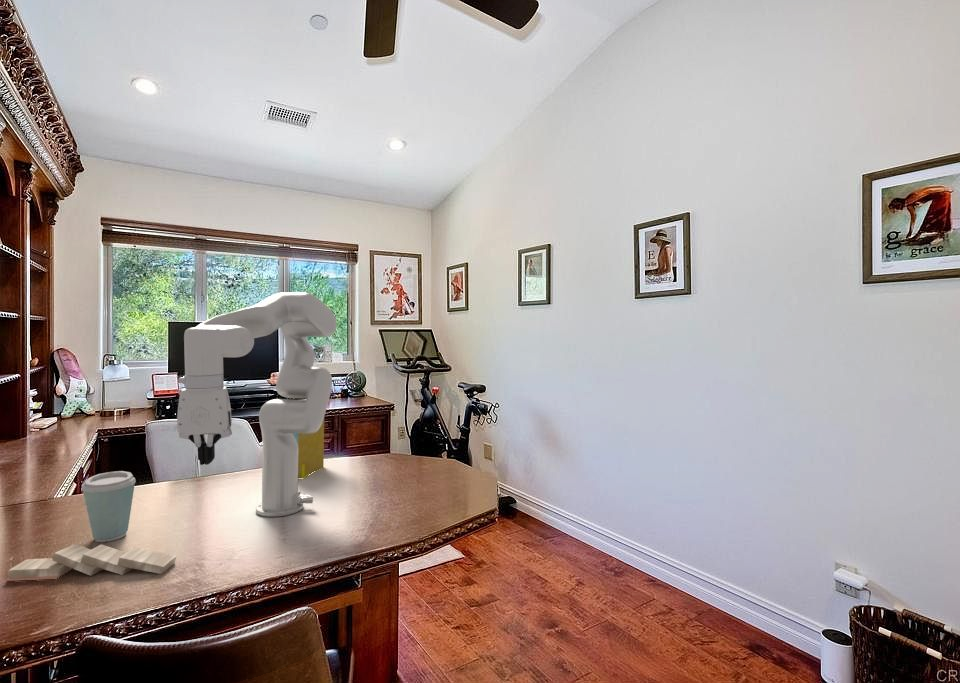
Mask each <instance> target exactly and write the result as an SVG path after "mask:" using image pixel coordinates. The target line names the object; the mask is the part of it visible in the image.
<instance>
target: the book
mask: <svg viewBox="0 0 960 683" xmlns="http://www.w3.org/2000/svg"><path fill="white" fill-rule="evenodd" d="M292 434H293V436H294V437H295V439H296V441H297V444H298V478H304V479H306V478H308V477H309V476H310V475H309V474H311V473H312V472H314V471H317V470H319V469H321V468H323V469H324V460H325V458H324V457H325V456H324V455H325V454H324V453H325V450H324V448H325V418H324V419H323V422H322V424H321V427H320V428H319V430H318V431H317V432H315V433H313V434H295V433H292ZM321 470H322V469H321ZM319 471H320V470H319ZM317 472H318V471H317ZM308 475H309V476H308ZM311 475H312V474H311ZM307 476H308V477H307ZM305 477H306V478H305Z"/></svg>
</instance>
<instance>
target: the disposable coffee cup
mask: <svg viewBox="0 0 960 683" xmlns="http://www.w3.org/2000/svg"><path fill="white" fill-rule="evenodd" d="M135 483H137V480H136V478H135V477H134V475H133V474H132V472H130V471H124V470H118V471H117V470H116V471H109V472H108V471H107V472H103V473H98V474H95V475H93V476H90V477H88V478H87V479H86V480H85V481H84V483H83V484H82V485H81V491H82V492H83V498H84V501H85V506H86V507H85V508H86V511H87V515H88V521H89V524H90V525H89V526H90V531H91V534H92V538H93V539H94V541H95V542H96V543H106V541H107V543H108V542H112V541H116V540H119V539H122V538H124V537H125V536H126V535H127V532H128V530H129V526H130V525H129V524H130V519H131V518H130V517H131V511H132V503H133V499H134V491H135Z"/></svg>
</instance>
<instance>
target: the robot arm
mask: <svg viewBox="0 0 960 683" xmlns="http://www.w3.org/2000/svg"><path fill="white" fill-rule="evenodd" d="M337 322H338V321H337V318H336V316H335V313H334V312H333V310H332V309H331V308H329V306H328V305H327V304H325V302H323V301H322V300H321V299H319V298H318V297H317V296H316V295H314V294H312V293H310V292H277V293H274V294H272V295H271V296H268V297H267V298H265V299H263V300H261V301H260V302H258V303H256V304H254V305H252V306H249V307H245V308H241V309H238V310H234V311H231V312H227V313H223V314H220V315H216V316H213V317H211V318H209V319H207V320H205V321H203V322H201V323H199V324H198V325H196V326H195V327H189V328H187V329H185V330H184V335H183V342H184V346H183V347H184V348H183V349H184V353H183V354H184V375H183V377H178V379H177V380H178V384H183V386H184V387H183V389H181V390H180V392H179V398H178V404H177V415H176V428H177V429H176V430H177V433H179V435H178V437H179V438H180V439H184V440H190V441H191V443H193V444H194V446H195V448H197V460H198V461H199V465H200V466H203V465H209V464H211V463H212V462H213V461H214V460H215V456H216V454H215V453H216V452H215V445H216V444H217V443H218V441H220V440H221V439H225V438H228V437H230V436H232V435H233V431H232V429H231V427H232V424H233V422H232V420H233V419H232V410H231V409H232V408H231V402H230V397H229V396H230V395H229V392H228V388H227V387H226V386H224V358H240V357H244V356H246V355H248V354H249V353H250V352H251V351H252V349H253V348H254V345H255V339H257V338H261V337H265V336H266V337H267V336H268V335H271V334H272V333H274V332H276V331H277V330H279V329H281V333H282V336H283V338H284V343H285V346H286V347H285V348H286V352H285V356H284V360H283V362H282V365H281V367H280V368H281V369H279V374H278V376H277V380H276V383H275V384H276V385H275V389H276V392H277V394H278V395H280V396H281V397H284V398H274V399H270V400H267V401H266V402H265V403H264V404H263V405H261V407H260V410H259V413H258V420H259V426H260V430H261V438H262V440H261V442H262V463H261V464H262V466H261V467H262V471H261V472H262V475H261V476H262V477H261V482H262V483H261V503H260V504H258V505H256V507H255V513H256V514H257V515H259V516H262V517H268V518H271V517H272V518H273V517H274V518H275V517H283V516H289V515H293V514H296V513H298V512H300V511H301V510H302V509H303V508H304V504H313V503H314V496H312V495H311V494H305V495H304V494H301V490H300V489H299V479H298V444H297V441H296V439H295V437H294V436H293V434H292V433H295V434H313V433H315V432H317V431H318V430H319V428H320V427H321V424H322V422H323V419H324V420H325V415H326V411H327V408H328V404H329V400H330V397H331V393H332V389H333V377H332V374H331V372H330V371H329V369H327V368H326V367H323V366H322V367H321V366H314V364H315V360H316V352H315V350H314V349H313V347H312V345H311V343H310V342H309V340H308V339H307V338H328V337H331V336H332V335H333V334H335V332H336V329H337V326H338V323H337ZM205 435H207V437H206V436H205ZM206 438H207V439H206Z"/></svg>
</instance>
